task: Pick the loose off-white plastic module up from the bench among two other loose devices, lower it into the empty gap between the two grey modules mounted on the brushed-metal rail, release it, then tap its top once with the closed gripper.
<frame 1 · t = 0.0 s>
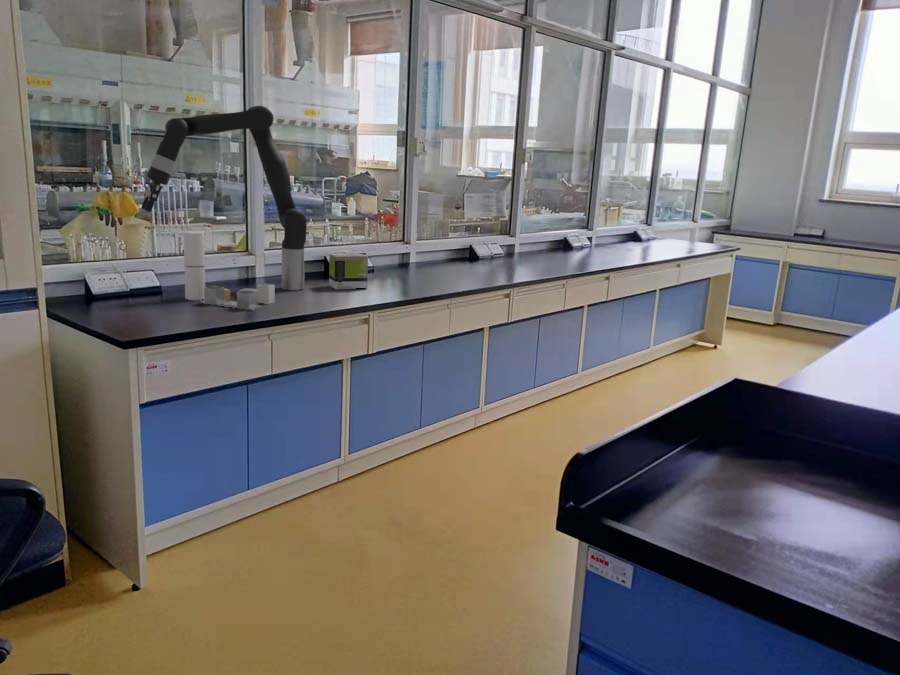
hand: (145, 210, 257), 31 cm above the lab bench, tool tilted 20°, fingers open, 8 cm apart
cylindrical container: (195, 299, 261), on the lab bench
rail: (230, 305, 252), on the lab bench
module: (265, 303, 261), on the lab bench
supply block: (249, 298, 268), on the lab bench
terminal block: (223, 299, 262), on the lab bench
tea box: (347, 288, 305), on the lab bench
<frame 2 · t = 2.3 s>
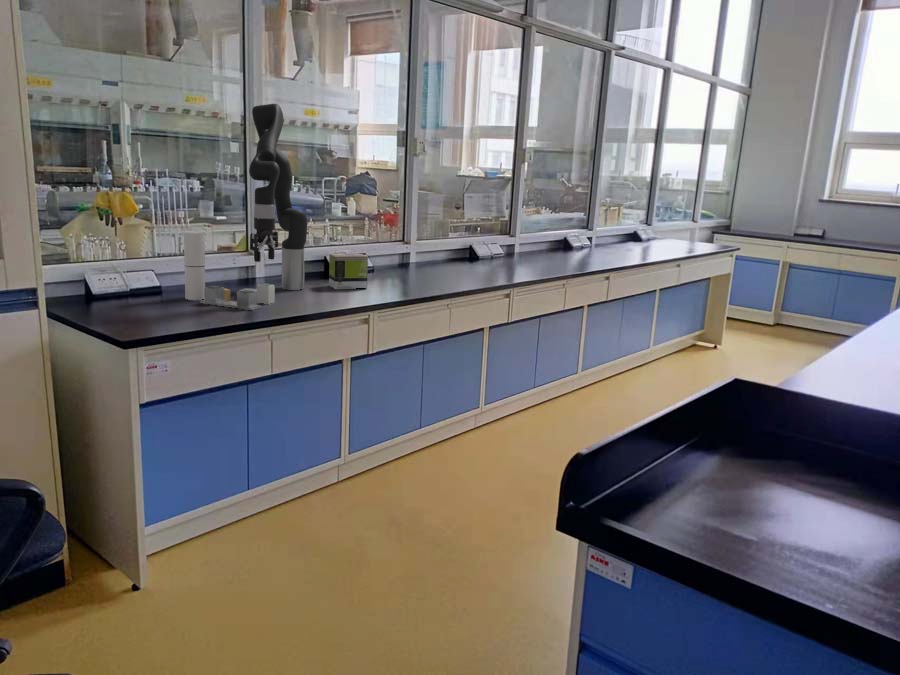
hand: (264, 260, 257), 16 cm above the lab bench, tool pointing down, fingers open, 8 cm apart
nothing on the lab bench moved.
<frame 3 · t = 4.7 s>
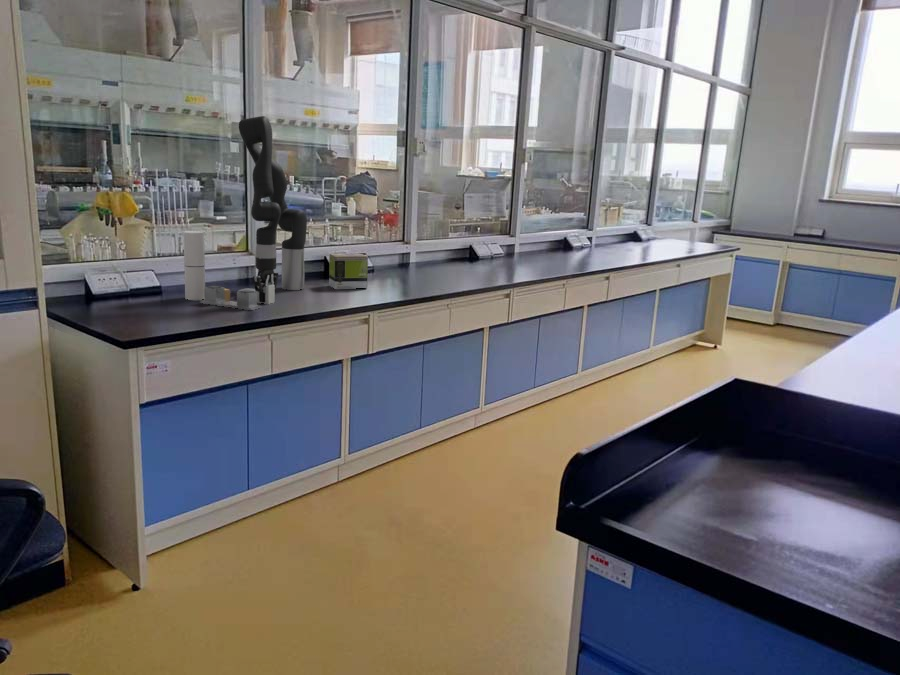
hand: (265, 300, 261), 1 cm above the lab bench, tool pointing down, fingers closed on module, 4 cm apart
module: (265, 302, 261), on the lab bench, touching gripper
everything else where it was.
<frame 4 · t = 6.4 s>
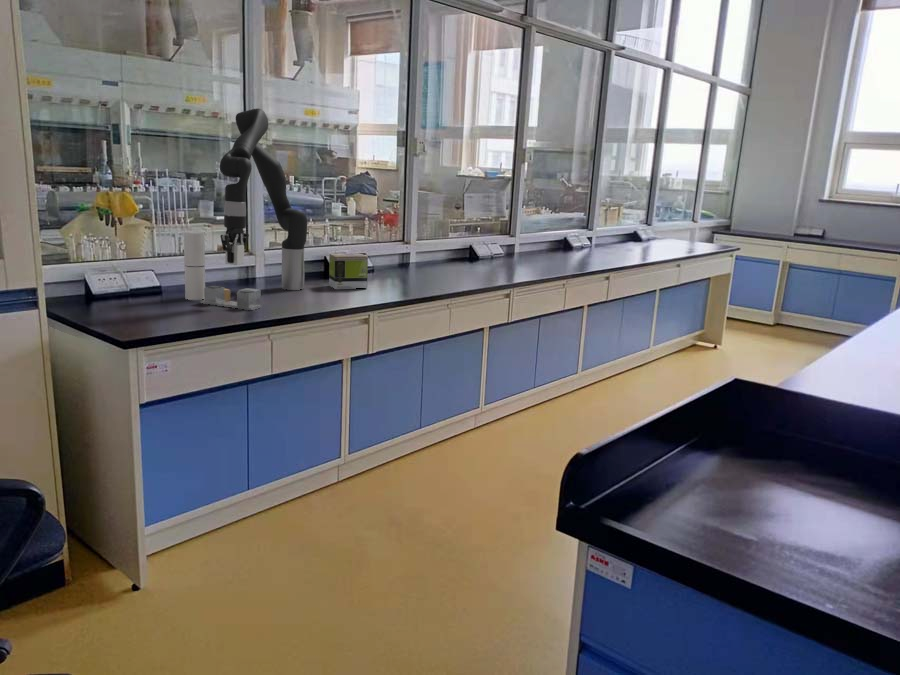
hand: (234, 262, 249), 16 cm above the lab bench, tool pointing down, fingers closed on module, 4 cm apart
module: (234, 264, 249), point 15 cm above the lab bench, touching gripper
everything else where it was.
when the fingers open (3 cm above the lab bench, at t = 8.6 s): module drops 2 cm, resting on rail.
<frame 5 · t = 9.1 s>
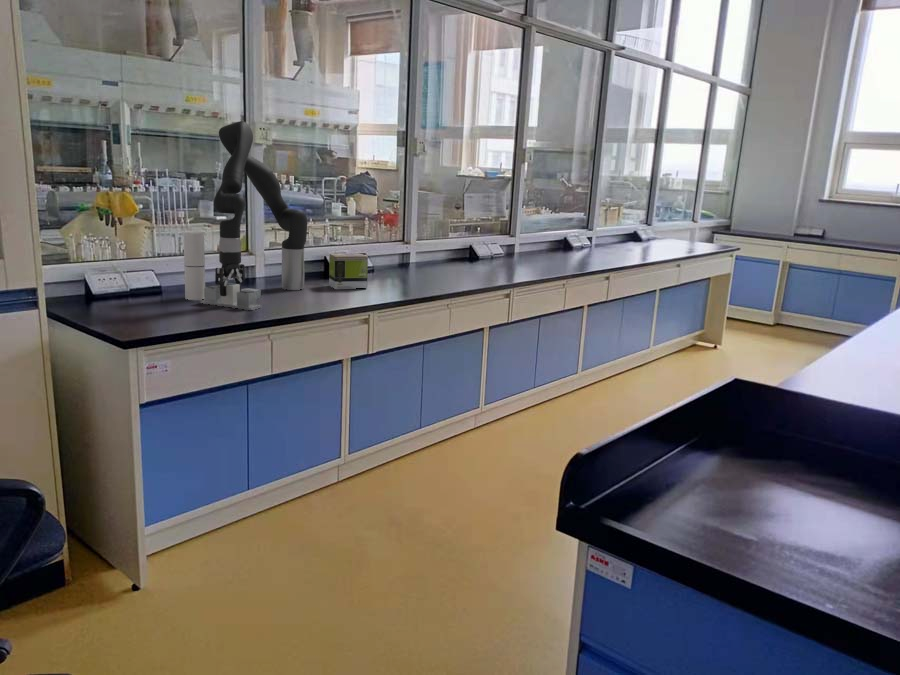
hand: (230, 294, 251), 4 cm above the lab bench, tool pointing down, fingers open, 8 cm apart
module: (230, 303, 252), point 1 cm above the lab bench, touching rail
everything else where it was.
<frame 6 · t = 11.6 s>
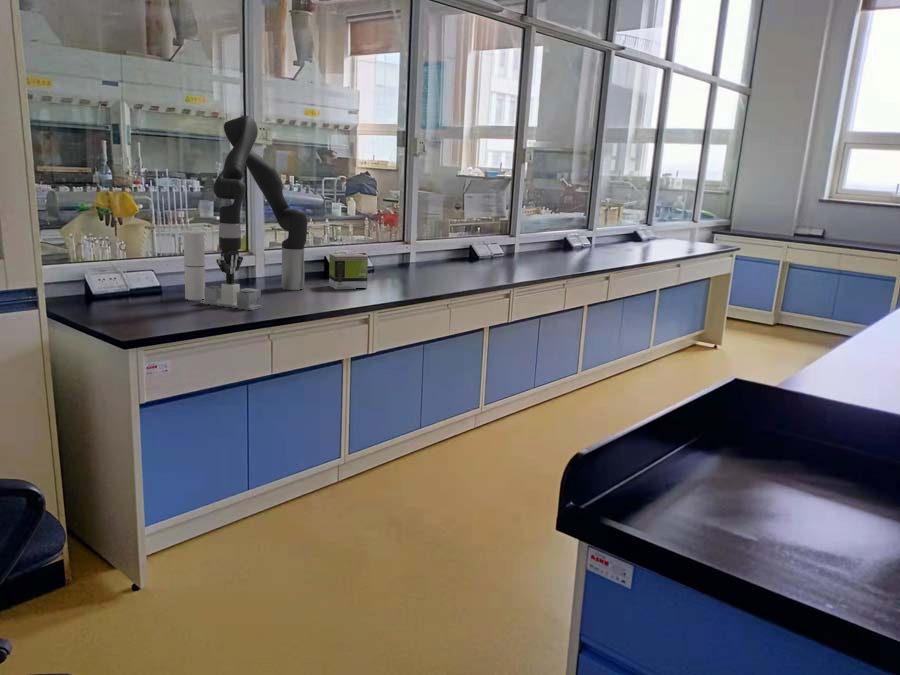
hand: (230, 283, 250), 8 cm above the lab bench, tool pointing down, fingers closed
module: (230, 303, 252), point 1 cm above the lab bench, touching gripper, rail
everything else where it was.
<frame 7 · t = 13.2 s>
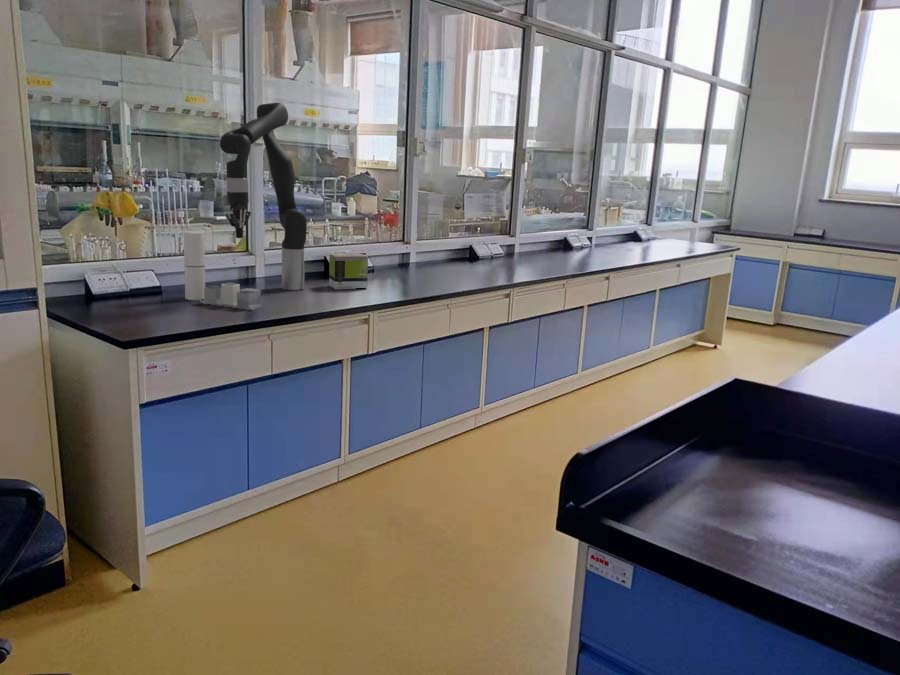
hand: (239, 237, 256), 24 cm above the lab bench, tool pointing down, fingers closed
module: (230, 303, 252), point 1 cm above the lab bench, touching rail
everything else where it was.
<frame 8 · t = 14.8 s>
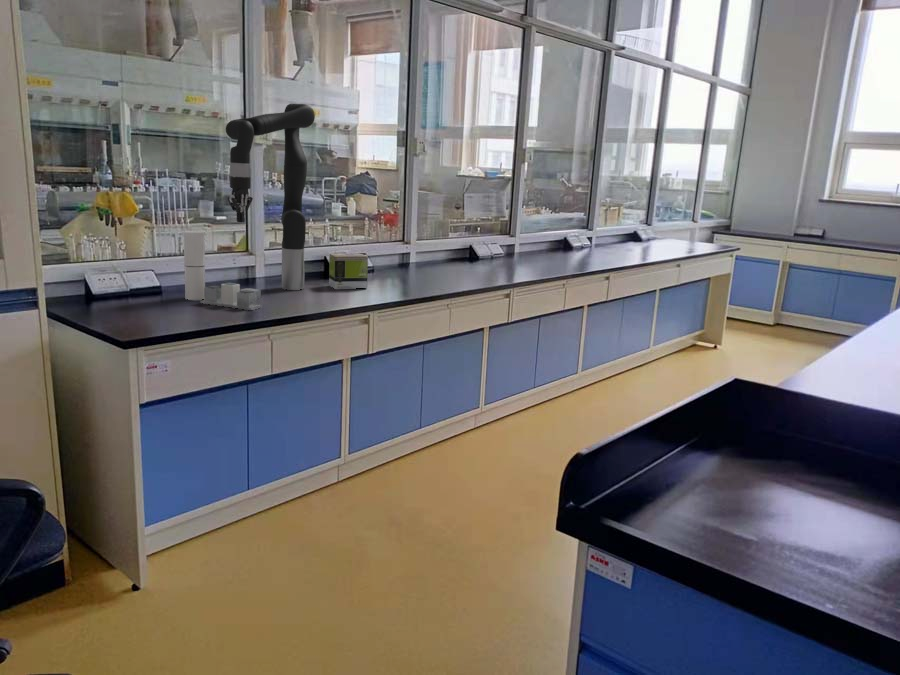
hand: (240, 222, 262), 29 cm above the lab bench, tool pointing down, fingers closed
nothing on the lab bench moved.
at the end: module 0.0 cm off-centre on the rail, point 1.0 cm above the rail's base; module tilted 0°; the gripper is holding nothing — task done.
